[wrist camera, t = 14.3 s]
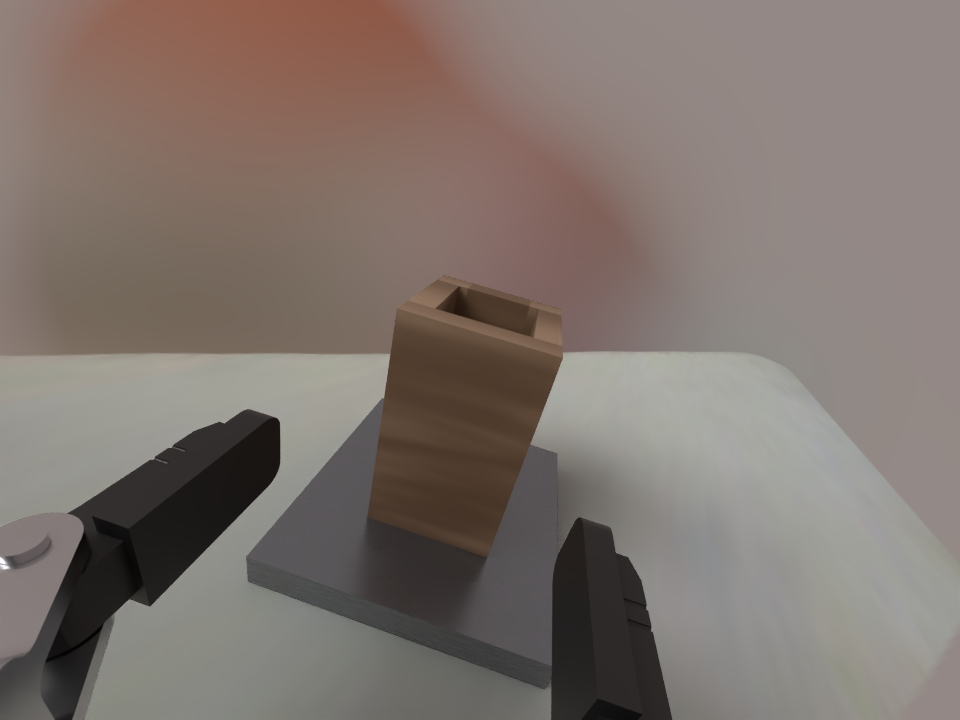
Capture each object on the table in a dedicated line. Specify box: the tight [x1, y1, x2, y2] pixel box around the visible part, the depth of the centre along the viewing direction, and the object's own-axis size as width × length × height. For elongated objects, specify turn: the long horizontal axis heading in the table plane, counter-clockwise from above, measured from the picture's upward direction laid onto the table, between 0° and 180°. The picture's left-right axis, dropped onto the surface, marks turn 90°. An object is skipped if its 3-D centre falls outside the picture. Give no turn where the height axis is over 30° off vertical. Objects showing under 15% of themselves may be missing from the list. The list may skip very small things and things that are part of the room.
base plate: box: [246, 398, 557, 689], centre depth 18 cm, size 12×12×6 cm
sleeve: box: [367, 275, 563, 558], centre depth 17 cm, size 6×6×10 cm
